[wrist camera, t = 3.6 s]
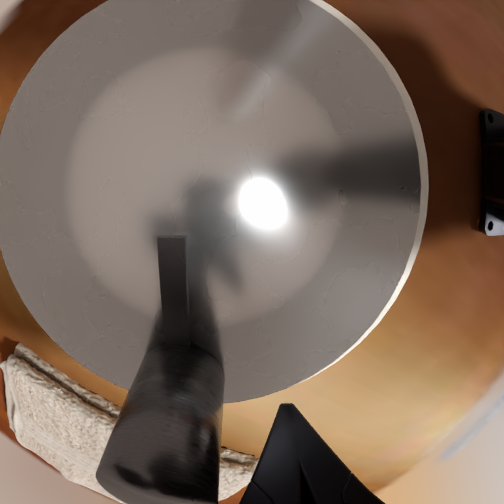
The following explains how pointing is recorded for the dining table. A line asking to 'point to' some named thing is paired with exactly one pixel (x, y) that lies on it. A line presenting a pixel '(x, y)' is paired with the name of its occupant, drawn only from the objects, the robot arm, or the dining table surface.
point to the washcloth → (79, 424)
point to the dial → (204, 214)
